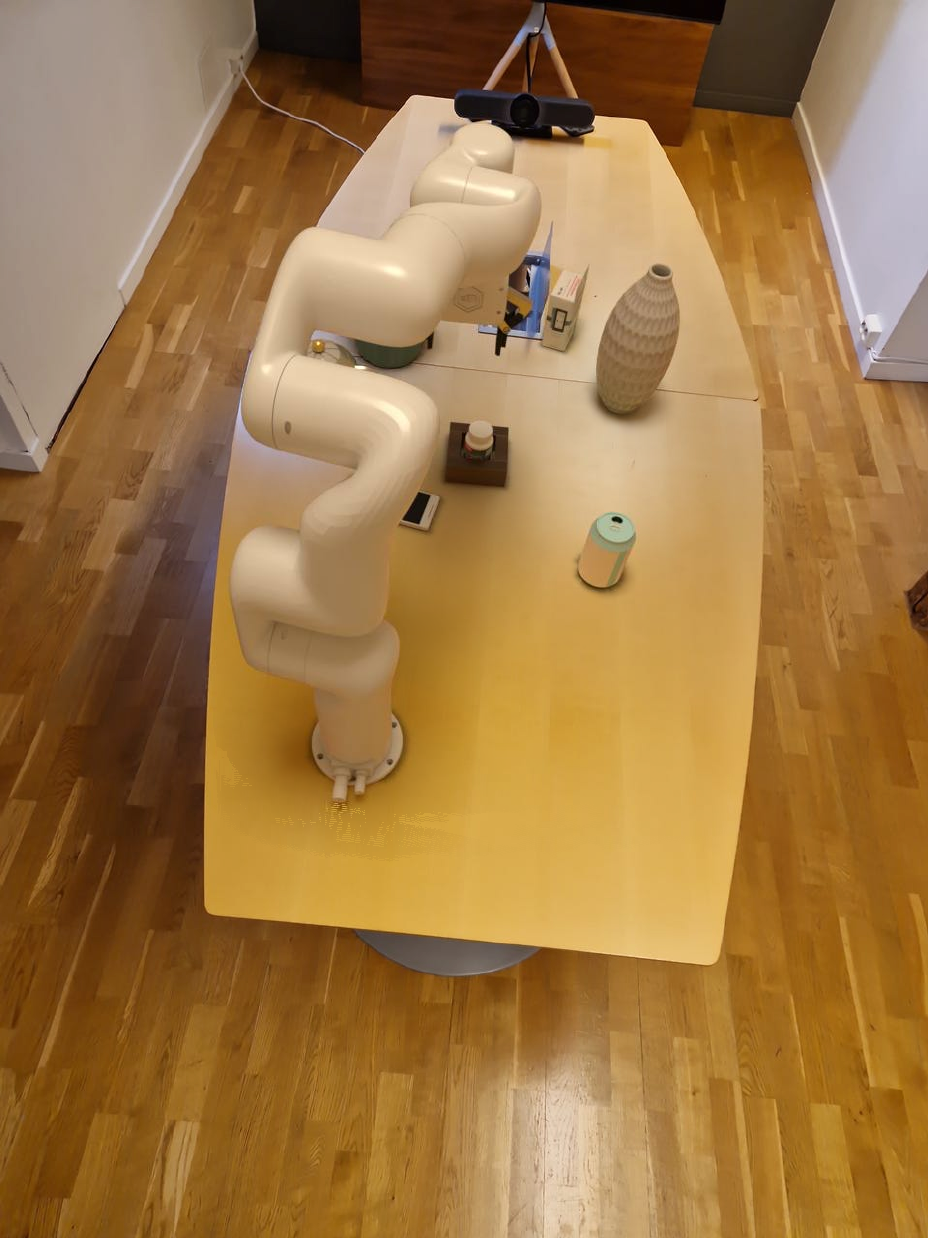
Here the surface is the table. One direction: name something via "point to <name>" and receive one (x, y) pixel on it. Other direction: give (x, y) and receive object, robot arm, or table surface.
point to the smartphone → (421, 511)
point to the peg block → (477, 468)
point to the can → (607, 549)
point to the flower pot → (387, 354)
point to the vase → (638, 341)
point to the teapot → (334, 354)
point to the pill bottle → (479, 441)
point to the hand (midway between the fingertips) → (464, 345)
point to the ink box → (564, 309)
